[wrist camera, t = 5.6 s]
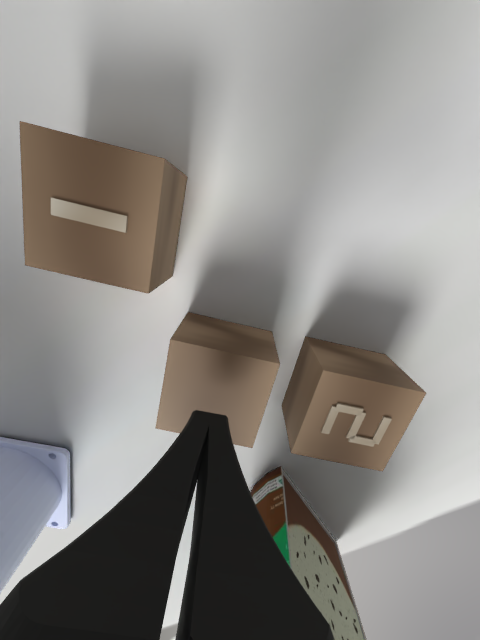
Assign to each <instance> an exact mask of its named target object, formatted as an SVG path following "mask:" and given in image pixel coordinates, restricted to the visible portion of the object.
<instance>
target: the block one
mask: <svg viewBox="0 0 480 640" xmlns="http://www.w3.org/2000/svg"><path fill="white" fill-rule="evenodd" d="M20 144H21V171H22V198H23V224H24V251H25V265H26V266H31V267H35V268H39V269H44V270H48V271H52V272H57V273H61V274H65V275H70V276H74V277H79V278H83V279H87V280H92V281H96V282H100V283H105V284H109V285H113V286H118V287H122V288H127V289H131V290H135V291H140V292H144V293H150V292H151V291H153V290H154V289H155V288H157V287H158V286H160V285H161V284H162V283H164V282H165V281H167V280H168V279H169V278H171V277H172V276H173V269H174V263H175V256H176V249H177V243H178V236H179V229H180V223H181V216H182V209H183V202H184V196H185V189H186V182H187V176H186V175H185V174H183V173H182V172H181V171H180V170H178V169H177V168H176V167H175V166H173V165H172V164H171V163H170V162H168V161H167V160H166V159H164V158H160V157H156V156H152V155H149V154H145V153H141V152H137V151H133V150H129V149H125V148H122V147H118V146H114V145H110V144H106V143H102V142H99V141H95V140H91V139H87V138H83V137H79V136H75V135H72V134H68V133H64V132H60V131H56V130H52V129H48V128H45V127H41V126H37V125H33V124H29V123H25V122H21V121H20Z"/></svg>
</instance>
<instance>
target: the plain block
mask: <svg viewBox="0 0 480 640" xmlns="http://www.w3.org/2000/svg"><path fill="white" fill-rule="evenodd" d="M279 366H280V362H279V358H278V354H277V350H276V346H275V342H274V338H273V334H272V332H271V331H267V330H263V329H258V328H254V327H250V326H245V325H241V324H237V323H232V322H228V321H224V320H220V319H215V318H211V317H207V316H202V315H198V314H194V313H190V312H188V313H187V314H186V316H185V318H184V319H183V321H182V322H181V324H180V325H179V327H178V328H177V330H176V331H175V333H174V334H173V336H172V338H171V339H170V344H169V350H168V356H167V362H166V368H165V374H164V380H163V386H162V392H161V398H160V404H159V410H158V416H157V422H156V428H157V429H161V430H166V431H171V432H176V433H181V432H182V430H183V429H184V427H185V425H186V424H187V422H188V420H189V418H190V417H191V414H192V412H193V411H195V410H199V411H204V412H210V413H215V414H221V415H226V416H227V417H228V422H229V429H230V433H231V438H232V442H233V444H235V445H240V446H245V447H250V448H252V447H253V444H254V441H255V438H256V435H257V432H258V429H259V426H260V423H261V420H262V417H263V414H264V411H265V408H266V405H267V402H268V399H269V396H270V393H271V390H272V387H273V384H274V381H275V378H276V375H277V372H278V369H279Z"/></svg>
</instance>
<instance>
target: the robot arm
mask: <svg viewBox="0 0 480 640" xmlns="http://www.w3.org/2000/svg"><path fill="white" fill-rule="evenodd" d="M197 479H198V480H197ZM196 483H197V490H196V500H195V511H194V521H193V531H192V541H191V550H190V558H189V564H188V570H187V576H186V582H185V588H184V594H183V599H182V605H181V611H180V617H179V623H178V629H177V634H176V640H335V639H334V636H333V633H332V630H331V627H330V625H329V623H328V622H327V620H326V619H325V618H324V616H323V615H322V614H321V612H320V611H319V609H318V608H317V607H316V605H315V604H314V602H313V601H312V599H311V598H310V597H309V595H308V594H307V592H306V591H305V589H304V588H303V586H302V585H301V583H300V582H299V580H298V579H297V577H296V575H295V574H294V572H293V571H292V569H291V568H290V566H289V565H288V563H287V561H286V560H285V558H284V556H283V555H282V553H281V551H280V549H279V548H278V546H277V544H276V542H275V541H274V539H273V537H272V535H271V534H270V532H269V530H268V528H267V527H266V525H265V523H264V521H263V519H262V517H261V515H260V513H259V511H258V509H257V506H256V504H255V502H254V500H253V498H252V496H251V493H250V491H249V489H248V486H247V484H246V481H245V478H244V476H243V473H242V471H241V468H240V465H239V462H238V459H237V455H236V452H235V449H234V446H233V442H232V438H231V433H230V429H229V422H228V417H227V416H226V415H221V414H215V413H210V412H204V411H199V410H195V411H193V412H192V414H191V417H190V418H189V420H188V422H187V424H186V425H185V427H184V429H183V430H182V432H181V433H180V435H179V436H178V437H177V439H176V440H175V441H174V443H173V444H172V445H171V447H170V448H169V449H168V451H167V452H166V453H165V454H164V456H163V457H162V458H161V459H160V460H159V461H158V463H157V464H156V465H155V466H154V467H153V469H152V470H151V471H150V472H149V473H148V474H147V475H146V476H145V477H144V478H143V479H142V480H141V481H140V482H139V483H138V484H137V485H136V487H135V488H134V489H133V490H132V491H130V492H129V493H128V494H127V495H126V496H125V497H124V498H123V499H122V500H121V501H120V502H119V503H118V504H117V505H116V506H115V507H113V508H112V509H111V510H110V511H109V512H108V513H107V514H106V515H104V516H103V517H102V518H101V519H100V520H98V521H97V522H96V523H95V524H94V525H92V526H91V527H90V528H89V529H88V530H86V531H85V532H84V533H83V534H81V535H80V536H79V537H78V538H77V539H75V540H74V541H73V542H72V543H70V544H69V545H68V546H66V547H65V548H64V549H62V550H61V551H60V552H58V553H57V554H56V555H54V556H53V557H51V558H50V559H49V560H47V561H46V562H45V563H43V564H42V565H41V566H39V567H38V568H36V569H35V570H34V571H32V572H31V573H30V574H28V575H27V576H25V577H24V578H23V579H22V580H20V581H19V583H18V584H17V585H16V586H15V587H14V589H13V590H12V591H11V592H10V593H9V595H8V596H7V597H6V598H5V600H4V601H3V602H2V603H1V605H0V640H159V639H160V633H161V629H162V624H163V619H164V614H165V609H166V604H167V600H168V595H169V590H170V585H171V580H172V575H173V570H174V565H175V560H176V556H177V552H178V548H179V544H180V540H181V537H182V533H183V529H184V526H185V522H186V519H187V515H188V511H189V508H190V504H191V501H192V497H193V493H194V490H195V486H196ZM70 522H71V515H70V452H69V451H68V450H67V449H65V448H61V447H55V446H50V445H44V444H38V443H32V442H27V441H21V440H15V439H9V438H4V437H0V593H1V592H2V590H3V589H4V587H5V586H6V584H7V583H8V581H9V580H10V578H11V577H12V575H13V574H14V572H15V571H16V569H17V568H18V566H19V565H20V563H21V562H22V560H23V559H24V557H25V556H26V554H27V552H28V551H29V549H30V548H31V546H32V545H33V543H34V542H35V540H36V539H37V537H38V536H39V534H40V533H41V531H42V530H43V528H44V527H45V526H46V527H53V528H59V529H65V528H67V527H68V526H69V524H70Z"/></svg>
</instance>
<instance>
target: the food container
mask: <svg viewBox="0 0 480 640" xmlns="http://www.w3.org/2000/svg"><path fill="white" fill-rule="evenodd" d="M251 496H252V498H253V500H254V502H255V504H256V506H257V509H258V511H259V513H260V515H261V517H262V519H263V521H264V523H265V525H266V527H267V528H268V530H269V532H270V534H271V535H272V537H273V539H274V541H275V542H276V544H277V546H278V548H279V549H280V551H281V553H282V555H283V556H284V558H285V560H286V561H287V563H288V565H289V566H290V568H291V569H292V571H293V572H294V574H295V575H296V577H297V579H298V580H299V582H300V583H301V585H302V586H303V588H304V589H305V591H306V592H307V594H308V595H309V597H310V598H311V599H312V601H313V602H314V604H315V605H316V607H317V608H318V609H319V611H320V612H321V614H322V615H323V616H324V618H325V619H326V620H327V622H328V623H329V625H330V627H331V630H332V633H333V636H334V639H335V640H366V637H365V633H364V630H363V627H362V623H361V621H360V617H359V614H358V610H357V607H356V604H355V601H354V597H353V594H352V591H351V588H350V585H349V581H348V578H347V575H346V571H345V568H344V565H343V562H342V558H341V555H340V552H339V549H338V545H337V542H336V540H335V539H334V538H333V536H332V535H331V534H330V532H329V531H328V530H327V528H326V527H325V526H324V524H323V523H322V521H321V520H320V519H319V517H318V516H317V515H316V513H315V512H314V511H313V509H312V508H311V506H310V505H309V504H308V502H307V501H306V500H305V498H304V497H303V496H302V494H301V493H300V492H299V490H298V489H297V487H296V486H295V485H294V483H293V482H292V481H291V479H290V478H289V477H288V475H287V474H286V472H285V471H284V470H283V468H282V467H281V466H280V467H278V468H277V469H275V470H273V471H271V472H269V473H267V474H266V475H265V476H264V477H263V478H262V479H261V480H260V481H258V482H257V483H256V484H255V485H254V487H253V489H252V491H251Z"/></svg>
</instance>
